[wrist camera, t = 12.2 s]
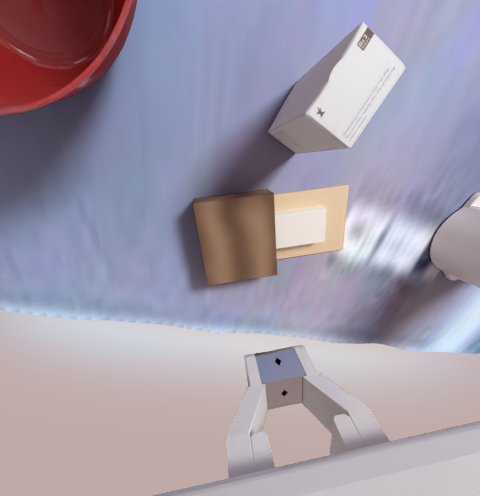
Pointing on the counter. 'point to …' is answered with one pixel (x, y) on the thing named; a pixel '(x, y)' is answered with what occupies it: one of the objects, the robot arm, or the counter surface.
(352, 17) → the counter surface
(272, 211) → the brown box
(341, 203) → the mat
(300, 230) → the white rectangular prism
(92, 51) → the mixing bowl
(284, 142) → the skincare box
